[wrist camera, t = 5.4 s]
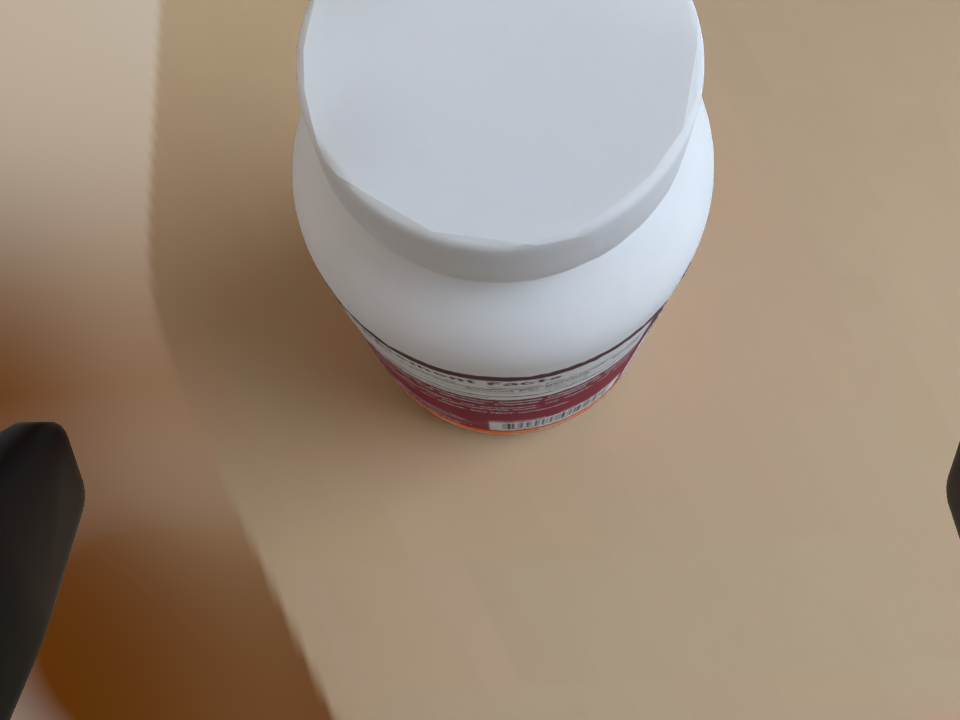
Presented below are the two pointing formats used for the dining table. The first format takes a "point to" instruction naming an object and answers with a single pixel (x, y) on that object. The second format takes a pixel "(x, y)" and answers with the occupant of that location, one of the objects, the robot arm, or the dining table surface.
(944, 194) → the dining table surface
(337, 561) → the dining table surface
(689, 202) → the pill bottle
